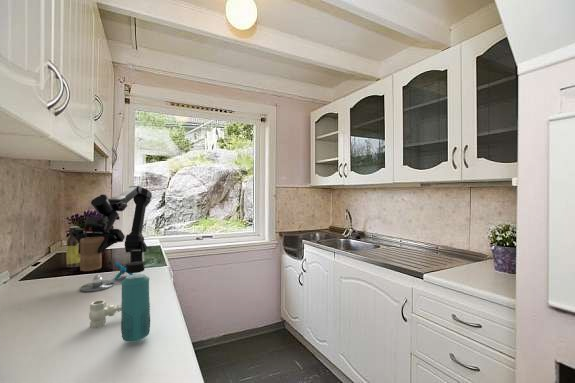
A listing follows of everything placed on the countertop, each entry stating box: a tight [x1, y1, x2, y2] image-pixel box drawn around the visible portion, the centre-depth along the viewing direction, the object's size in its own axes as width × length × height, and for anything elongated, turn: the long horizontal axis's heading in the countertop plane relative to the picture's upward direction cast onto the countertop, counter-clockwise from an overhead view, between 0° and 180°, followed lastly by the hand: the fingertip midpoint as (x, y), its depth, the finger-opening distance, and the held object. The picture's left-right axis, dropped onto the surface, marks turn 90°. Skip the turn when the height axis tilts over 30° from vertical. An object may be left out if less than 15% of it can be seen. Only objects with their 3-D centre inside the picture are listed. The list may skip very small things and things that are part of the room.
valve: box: [88, 299, 122, 329], centre depth 82 cm, size 7×7×12 cm
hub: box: [79, 274, 115, 293], centre depth 110 cm, size 11×11×4 cm
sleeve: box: [79, 237, 103, 272], centre depth 111 cm, size 6×6×12 cm
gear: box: [114, 261, 134, 281], centre depth 121 cm, size 11×6×10 cm
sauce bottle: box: [65, 226, 81, 269], centre depth 140 cm, size 6×6×20 cm
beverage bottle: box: [120, 261, 151, 342], centre depth 71 cm, size 6×7×20 cm
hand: (88, 252), depth 109 cm, fingers closed on sleeve, 7 cm apart
